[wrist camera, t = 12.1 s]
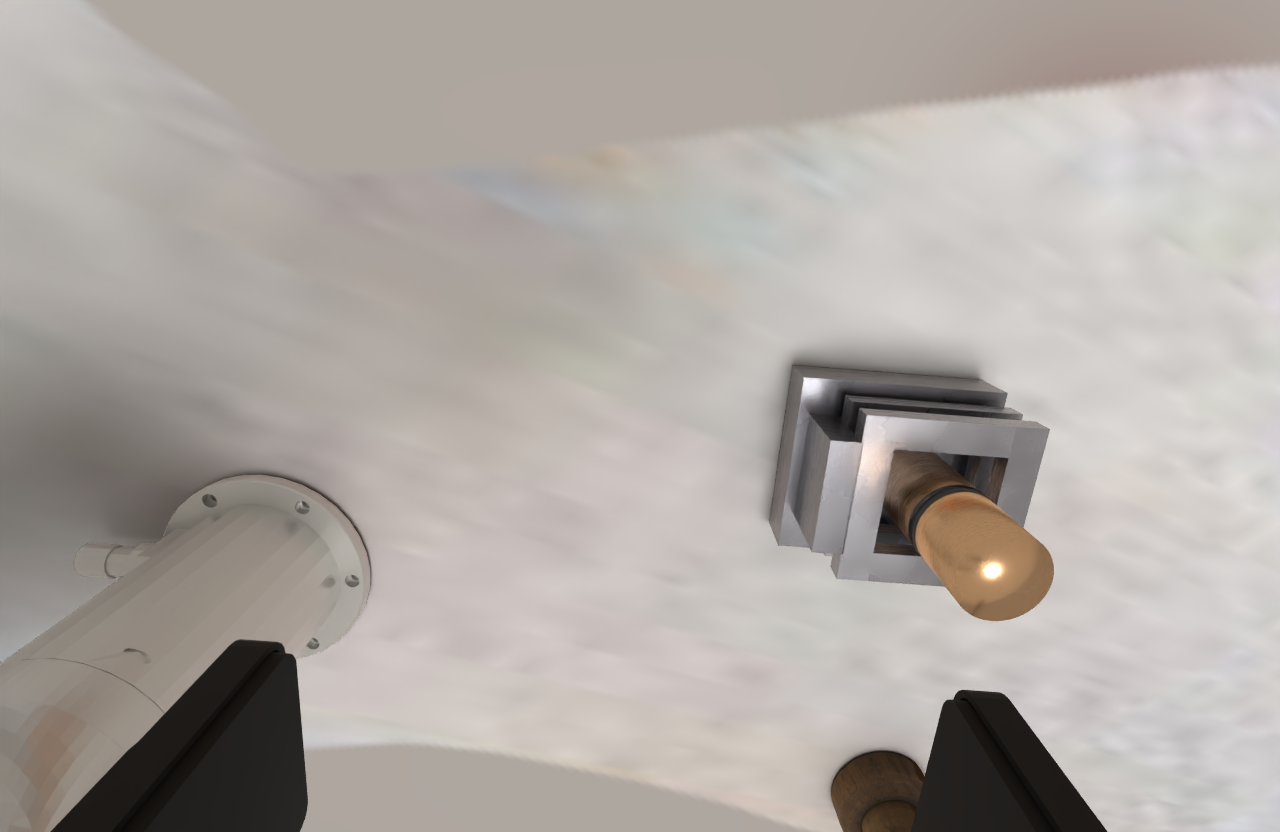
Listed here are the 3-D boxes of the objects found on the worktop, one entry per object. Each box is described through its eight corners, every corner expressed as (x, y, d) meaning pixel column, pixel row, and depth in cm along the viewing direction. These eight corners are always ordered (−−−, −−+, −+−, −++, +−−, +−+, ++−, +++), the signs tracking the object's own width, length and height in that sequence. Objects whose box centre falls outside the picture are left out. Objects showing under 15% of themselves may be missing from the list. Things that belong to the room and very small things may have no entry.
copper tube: (874, 437, 37) (964, 528, 27) (947, 443, 37) (1066, 536, 27) (861, 504, 38) (942, 617, 28) (931, 510, 38) (1039, 624, 28)
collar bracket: (769, 522, 42) (794, 586, 35) (792, 364, 39) (825, 399, 32) (944, 535, 42) (1005, 601, 35) (981, 379, 39) (1055, 417, 32)
